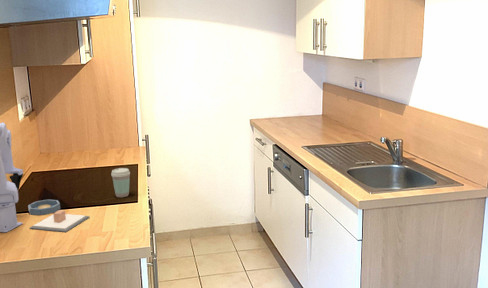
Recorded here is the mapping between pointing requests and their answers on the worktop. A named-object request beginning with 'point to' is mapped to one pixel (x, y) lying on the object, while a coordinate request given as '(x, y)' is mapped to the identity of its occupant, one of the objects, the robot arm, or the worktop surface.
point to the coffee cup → (121, 181)
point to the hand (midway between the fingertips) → (8, 190)
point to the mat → (59, 229)
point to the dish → (44, 207)
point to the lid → (59, 221)
